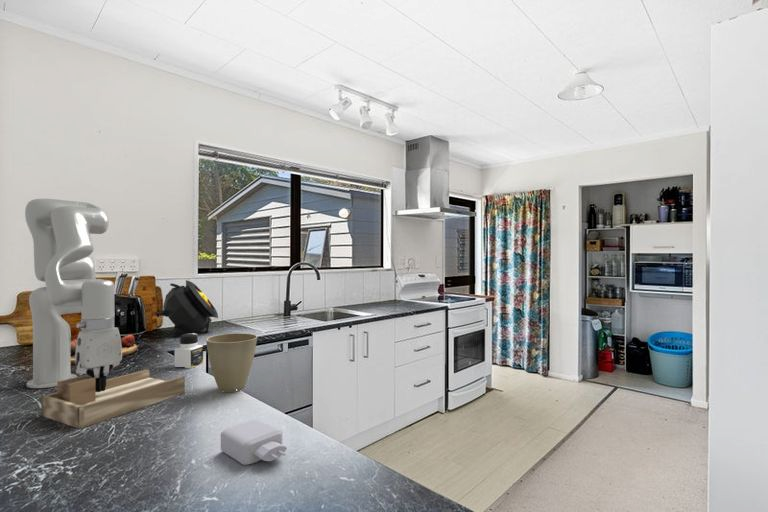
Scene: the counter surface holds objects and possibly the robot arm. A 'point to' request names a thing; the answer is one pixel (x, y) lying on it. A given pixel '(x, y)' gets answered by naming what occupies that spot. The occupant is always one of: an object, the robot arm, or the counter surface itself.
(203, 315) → the cauldron
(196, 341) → the medicine bottle
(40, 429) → the counter surface
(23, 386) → the counter surface
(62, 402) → the box
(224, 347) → the plant pot
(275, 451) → the charger
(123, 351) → the wooden plate with food
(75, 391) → the walnut block
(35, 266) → the robot arm
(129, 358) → the counter surface
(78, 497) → the counter surface
